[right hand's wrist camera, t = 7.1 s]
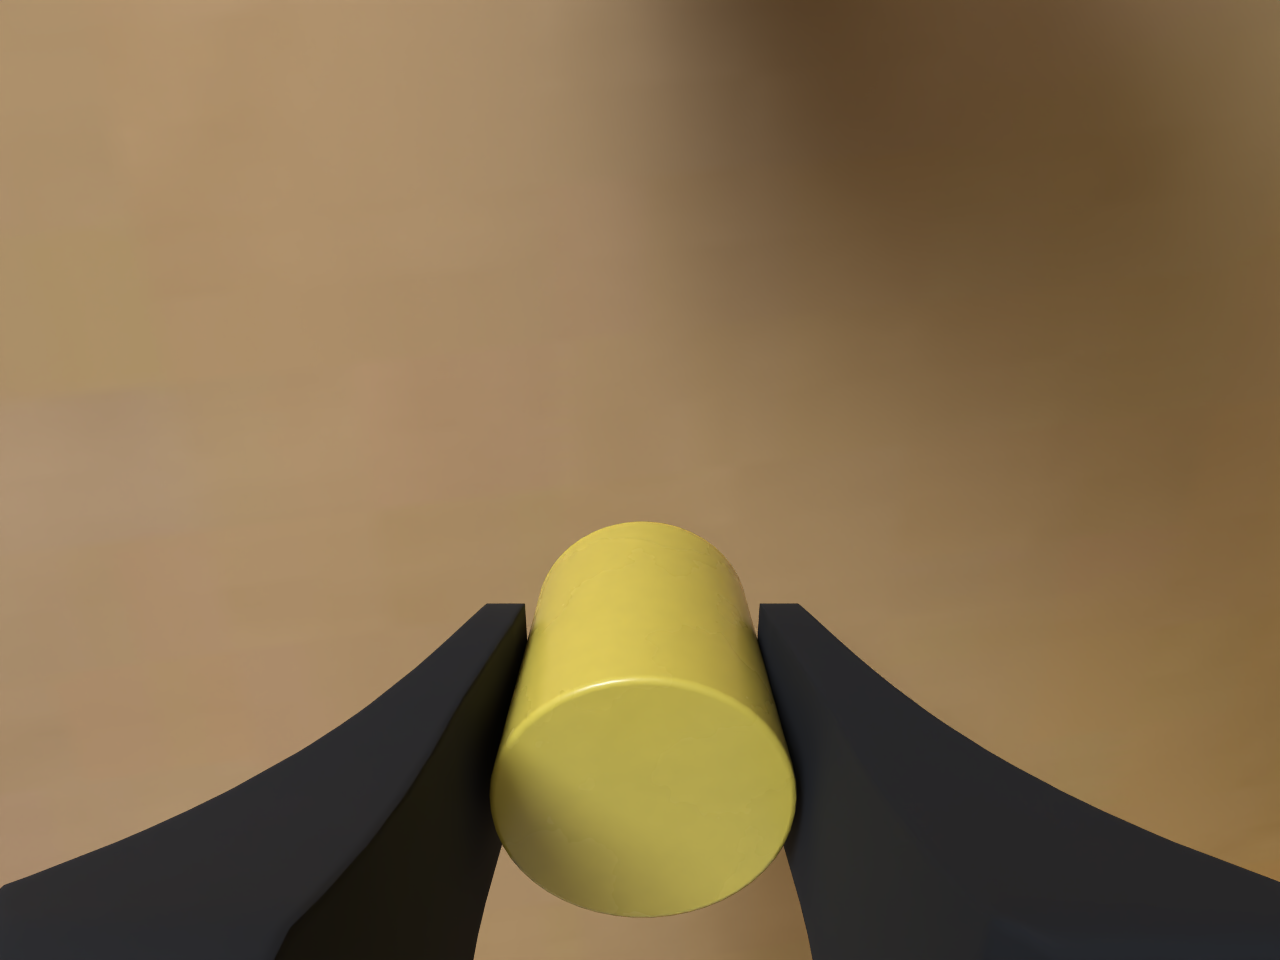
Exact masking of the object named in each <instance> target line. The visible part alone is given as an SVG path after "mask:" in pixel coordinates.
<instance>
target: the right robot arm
mask: <svg viewBox="0 0 1280 960" xmlns="http://www.w3.org/2000/svg"><path fill="white" fill-rule="evenodd" d="M757 640H758V644H759V648H760V651H761V655H762V658H763V662H764V665H765V669H766V673H767V676H768V680H769V683H770V687H771V690H772V694H773V697H774V701H775V705H776V708H777V712H778V715H779V719H780V722H781V726H782V730H783V733H784V737H785V740H786V744H787V747H788V751H789V754H790V758H791V762H792V765H793V769H794V774H795V778H796V787H797V801H796V811H795V815H794V819H793V822H792V826H791V830H790V832H789V834H788V837H787V839H786V841H785V843H784V849H785V852H786V856H787V859H788V863H789V866H790V870H791V873H792V877H793V880H794V883H795V887H796V890H797V894H798V897H799V901H800V905H801V909H802V913H803V917H804V921H805V925H806V929H807V933H808V938H809V943H810V948H811V954H812V959H813V960H1280V882H1278V881H1276V880H1273V879H1270V878H1268V877H1265V876H1262V875H1260V874H1257V873H1254V872H1252V871H1249V870H1247V869H1244V868H1241V867H1239V866H1236V865H1233V864H1231V863H1228V862H1225V861H1223V860H1220V859H1217V858H1215V857H1212V856H1210V855H1207V854H1204V853H1202V852H1199V851H1196V850H1194V849H1191V848H1188V847H1186V846H1183V845H1180V844H1178V843H1175V842H1173V841H1170V840H1168V839H1165V838H1163V837H1161V836H1158V835H1156V834H1154V833H1151V832H1149V831H1147V830H1145V829H1142V828H1140V827H1138V826H1136V825H1133V824H1131V823H1129V822H1126V821H1124V820H1122V819H1120V818H1117V817H1115V816H1113V815H1111V814H1108V813H1106V812H1104V811H1102V810H1100V809H1097V808H1095V807H1093V806H1091V805H1089V804H1087V803H1085V802H1083V801H1081V800H1079V799H1077V798H1075V797H1073V796H1070V795H1068V794H1066V793H1064V792H1062V791H1060V790H1058V789H1057V788H1055V787H1053V786H1051V785H1049V784H1047V783H1045V782H1043V781H1042V780H1040V779H1038V778H1036V777H1034V776H1032V775H1030V774H1028V773H1026V772H1025V771H1023V770H1021V769H1019V768H1017V767H1015V766H1013V765H1012V764H1010V763H1008V762H1006V761H1005V760H1003V759H1001V758H999V757H998V756H996V755H994V754H992V753H991V752H989V751H987V750H986V749H984V748H983V747H981V746H979V745H978V744H976V743H975V742H973V741H971V740H970V739H968V738H967V737H965V736H964V735H962V734H960V733H959V732H957V731H956V730H954V729H953V728H951V727H949V726H948V725H946V724H945V723H943V722H942V721H940V720H939V719H937V718H936V717H935V716H933V715H932V714H930V713H929V712H927V711H926V710H925V709H923V708H922V707H921V706H919V705H918V704H917V703H915V702H914V701H912V700H911V699H910V698H908V697H907V696H906V695H904V694H903V693H902V692H900V691H899V690H898V689H896V688H895V687H894V686H893V685H891V684H890V683H889V682H888V681H886V680H885V679H884V678H883V677H881V676H880V675H879V674H878V673H876V672H875V671H874V670H873V669H872V668H870V667H869V666H868V665H867V664H866V663H864V662H863V661H862V660H861V659H860V658H859V657H857V656H856V655H855V654H854V653H853V652H852V651H851V650H849V649H848V648H847V647H846V646H845V645H844V644H843V643H841V642H840V641H839V640H838V639H837V638H836V637H835V636H834V635H833V634H832V633H830V632H829V631H828V630H827V629H826V628H825V627H824V626H823V625H822V624H821V623H819V622H818V621H817V620H816V619H815V618H814V617H813V616H812V615H811V614H810V613H809V612H807V611H806V610H805V609H804V608H803V607H802V606H800V605H799V604H760V608H759V623H758V638H757ZM526 644H527V630H526V614H525V604H486V605H485V606H484V607H482V608H481V609H480V610H479V611H478V612H477V613H476V614H475V615H474V616H472V617H471V618H470V619H469V620H468V621H467V622H466V623H465V624H464V625H463V626H462V627H460V628H459V629H458V630H457V631H456V632H455V633H454V634H453V635H452V636H451V637H450V638H449V639H447V640H446V641H445V642H444V643H443V644H442V645H441V646H440V647H439V648H438V649H436V650H435V651H434V652H433V653H432V654H431V655H430V656H429V657H427V658H426V659H425V660H424V661H423V662H422V663H421V664H420V665H418V666H417V667H416V668H415V669H414V670H412V671H411V672H410V673H409V674H407V675H406V676H405V677H404V678H402V679H401V680H400V681H399V682H397V683H396V684H395V685H394V686H392V687H391V688H390V689H388V690H387V691H386V692H385V693H383V694H382V695H381V696H380V697H378V698H377V699H376V700H375V701H373V702H372V703H371V704H370V705H368V706H367V707H365V708H364V709H363V710H361V711H360V712H359V713H357V714H356V715H354V716H353V717H351V718H350V719H349V720H347V721H346V722H344V723H343V724H341V725H340V726H338V727H337V728H335V729H334V730H332V731H331V732H329V733H328V734H326V735H324V736H323V737H321V738H320V739H318V740H317V741H315V742H314V743H312V744H311V745H309V746H307V747H306V748H304V749H302V750H301V751H299V752H297V753H296V754H294V755H292V756H290V757H289V758H287V759H285V760H283V761H281V762H280V763H278V764H276V765H274V766H272V767H271V768H269V769H267V770H265V771H263V772H262V773H260V774H258V775H256V776H254V777H253V778H251V779H249V780H247V781H245V782H244V783H242V784H240V785H238V786H236V787H235V788H233V789H231V790H229V791H227V792H225V793H223V794H221V795H219V796H217V797H215V798H213V799H211V800H209V801H207V802H205V803H202V804H200V805H198V806H196V807H194V808H192V809H190V810H188V811H186V812H184V813H182V814H179V815H177V816H175V817H173V818H170V819H168V820H166V821H164V822H162V823H159V824H157V825H155V826H153V827H151V828H148V829H146V830H144V831H142V832H139V833H137V834H135V835H132V836H130V837H128V838H125V839H123V840H120V841H118V842H116V843H113V844H111V845H108V846H105V847H103V848H100V849H98V850H95V851H93V852H90V853H87V854H85V855H82V856H80V857H77V858H75V859H72V860H69V861H67V862H64V863H62V864H59V865H57V866H54V867H52V868H49V869H46V870H44V871H41V872H39V873H36V874H34V875H31V876H28V877H25V878H23V879H20V880H17V881H14V882H12V883H9V884H6V885H4V886H3V887H2V888H1V889H0V960H473V959H474V954H475V948H476V942H477V937H478V933H479V928H480V924H481V920H482V916H483V912H484V907H485V903H486V900H487V896H488V892H489V889H490V885H491V882H492V878H493V875H494V871H495V867H496V864H497V860H498V857H499V853H500V850H501V846H502V843H501V841H500V838H499V836H498V834H497V832H496V829H495V825H494V822H493V818H492V814H491V808H490V798H489V792H490V779H491V775H492V771H493V767H494V763H495V759H496V756H497V752H498V748H499V745H500V741H501V737H502V733H503V730H504V726H505V722H506V719H507V715H508V711H509V707H510V704H511V700H512V696H513V692H514V689H515V685H516V681H517V678H518V674H519V670H520V666H521V663H522V659H523V655H524V652H525V648H526Z"/></svg>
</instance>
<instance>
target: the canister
mask: <svg viewBox="0 0 1280 960" xmlns="http://www.w3.org/2000/svg"><path fill="white" fill-rule="evenodd" d="M489 798H490V808H491V814H492V818H493V822H494V825H495V829H496V832H497V834H498V836H499V838H500V841H501V843H502V845H503V847H504V848H505V850H506V851H507V853H508V855H509V856H510V858H511V859H512V860H513V861H514V863H515V864H516V865H517V866H518V867H519V868H520V870H521V871H522V872H523V873H525V874H526V875H527V876H528V877H529V878H530V879H531V880H532V881H533V882H535V883H536V884H538V885H539V886H540V887H542V888H543V889H545V890H546V891H547V892H549V893H551V894H553V895H555V896H556V897H558V898H560V899H562V900H564V901H566V902H569V903H571V904H574V905H576V906H578V907H581V908H585V909H588V910H591V911H595V912H599V913H604V914H609V915H614V916H623V917H663V916H672V915H677V914H682V913H687V912H691V911H695V910H698V909H701V908H705V907H707V906H710V905H712V904H715V903H717V902H720V901H722V900H724V899H726V898H728V897H729V896H731V895H733V894H735V893H737V892H739V891H740V890H741V889H743V888H744V887H746V886H747V885H748V884H750V883H751V882H753V881H754V880H755V879H756V878H757V877H758V876H759V875H760V874H762V873H763V872H764V871H765V870H766V869H767V867H768V866H769V865H770V864H771V863H772V861H773V860H774V859H775V858H776V856H777V855H778V853H779V852H780V850H781V849H782V847H783V845H784V843H785V841H786V839H787V837H788V834H789V832H790V830H791V826H792V822H793V819H794V815H795V811H796V801H797V787H796V778H795V774H794V769H793V765H792V762H791V758H790V754H789V751H788V747H787V744H786V740H785V737H784V733H783V730H782V726H781V722H780V719H779V715H778V712H777V708H776V705H775V701H774V697H773V694H772V690H771V687H770V683H769V680H768V676H767V673H766V669H765V665H764V662H763V658H762V655H761V651H760V648H759V644H758V640H757V637H756V633H755V630H754V626H753V623H752V619H751V616H750V612H749V608H748V605H747V601H746V598H745V594H744V591H743V587H742V585H741V582H740V580H739V578H738V575H737V574H736V572H735V570H734V569H733V567H732V565H731V564H730V563H729V562H728V560H727V559H726V558H725V557H724V555H722V554H721V553H720V552H719V551H718V550H717V549H716V548H715V547H714V546H713V545H711V544H710V543H708V542H707V541H706V540H704V539H703V538H701V537H699V536H697V535H695V534H693V533H692V532H689V531H687V530H684V529H682V528H679V527H676V526H672V525H667V524H663V523H655V522H629V523H621V524H617V525H613V526H609V527H606V528H603V529H600V530H598V531H595V532H593V533H591V534H589V535H587V536H585V537H584V538H582V539H580V540H579V541H577V542H576V543H575V544H573V545H572V546H570V547H569V548H568V549H567V550H566V551H565V552H564V553H563V554H562V555H561V556H560V557H559V558H558V560H557V561H556V562H555V563H554V565H553V566H552V568H551V569H550V571H549V573H548V574H547V576H546V578H545V581H544V583H543V586H542V588H541V592H540V596H539V599H538V603H537V607H536V611H535V614H534V618H533V622H532V625H531V629H530V633H529V637H528V640H527V644H526V648H525V652H524V655H523V659H522V663H521V666H520V670H519V674H518V678H517V681H516V685H515V689H514V692H513V696H512V700H511V704H510V707H509V711H508V715H507V719H506V722H505V726H504V730H503V733H502V737H501V741H500V745H499V748H498V752H497V756H496V759H495V763H494V767H493V771H492V775H491V779H490V792H489Z"/></svg>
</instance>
